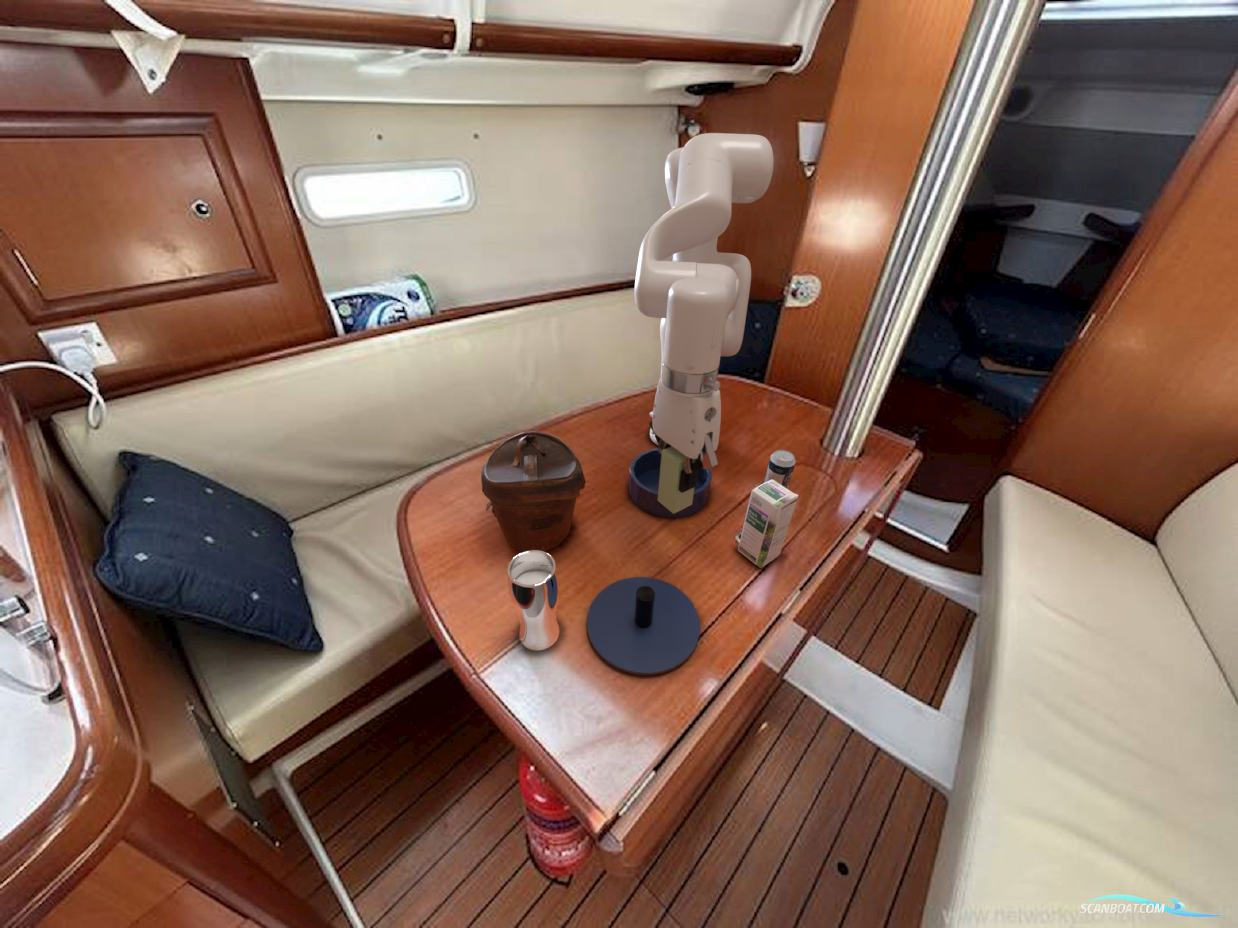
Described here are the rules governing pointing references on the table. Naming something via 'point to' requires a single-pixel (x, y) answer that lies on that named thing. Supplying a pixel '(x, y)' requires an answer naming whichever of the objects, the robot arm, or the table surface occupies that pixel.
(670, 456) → the block
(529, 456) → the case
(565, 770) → the table surface
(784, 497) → the syrup box
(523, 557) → the beer glass
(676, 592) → the lid
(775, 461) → the pill bottle
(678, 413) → the robot arm
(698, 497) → the pot
